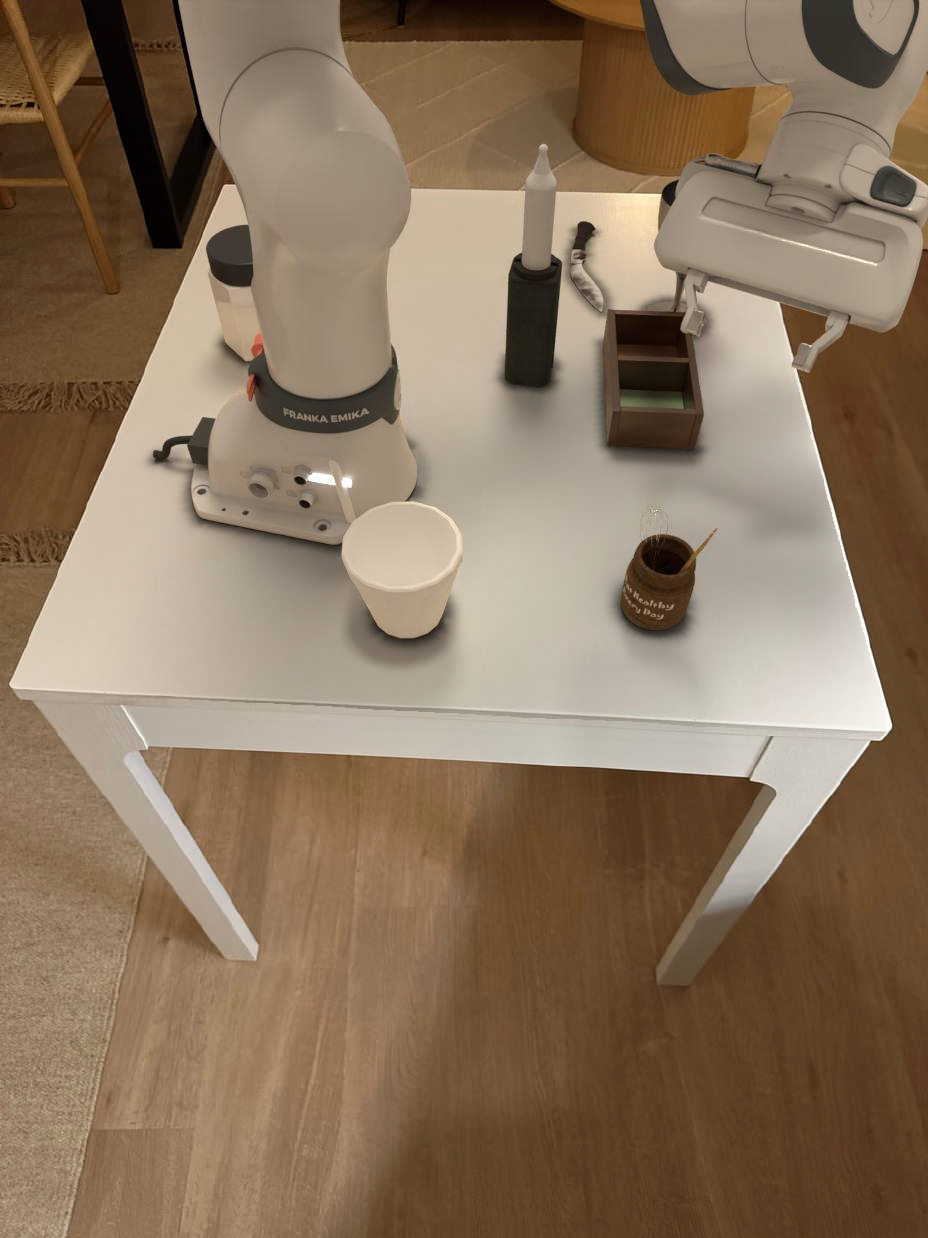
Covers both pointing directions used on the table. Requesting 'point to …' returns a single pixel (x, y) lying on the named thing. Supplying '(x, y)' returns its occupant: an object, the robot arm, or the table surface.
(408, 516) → the cup
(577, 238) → the knife
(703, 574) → the table surface
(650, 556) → the utensil holder
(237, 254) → the jar
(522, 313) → the candle
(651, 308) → the wine glass
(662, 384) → the wooden divided box
